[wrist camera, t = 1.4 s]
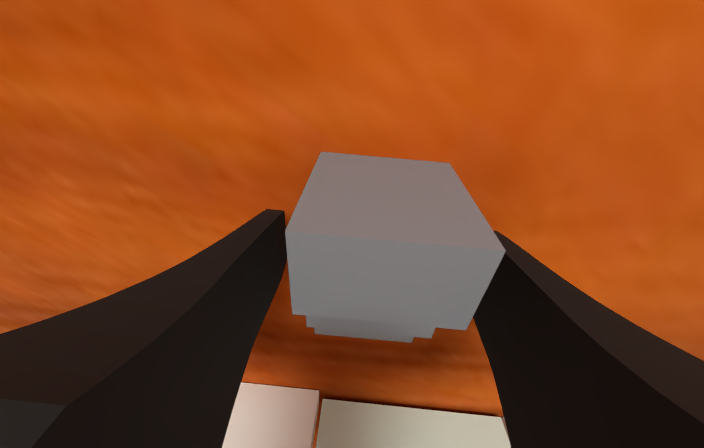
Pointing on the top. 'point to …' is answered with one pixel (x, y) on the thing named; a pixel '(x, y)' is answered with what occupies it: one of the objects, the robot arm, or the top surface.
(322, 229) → the staircase
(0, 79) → the top surface
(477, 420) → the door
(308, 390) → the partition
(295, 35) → the top surface
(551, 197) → the top surface
